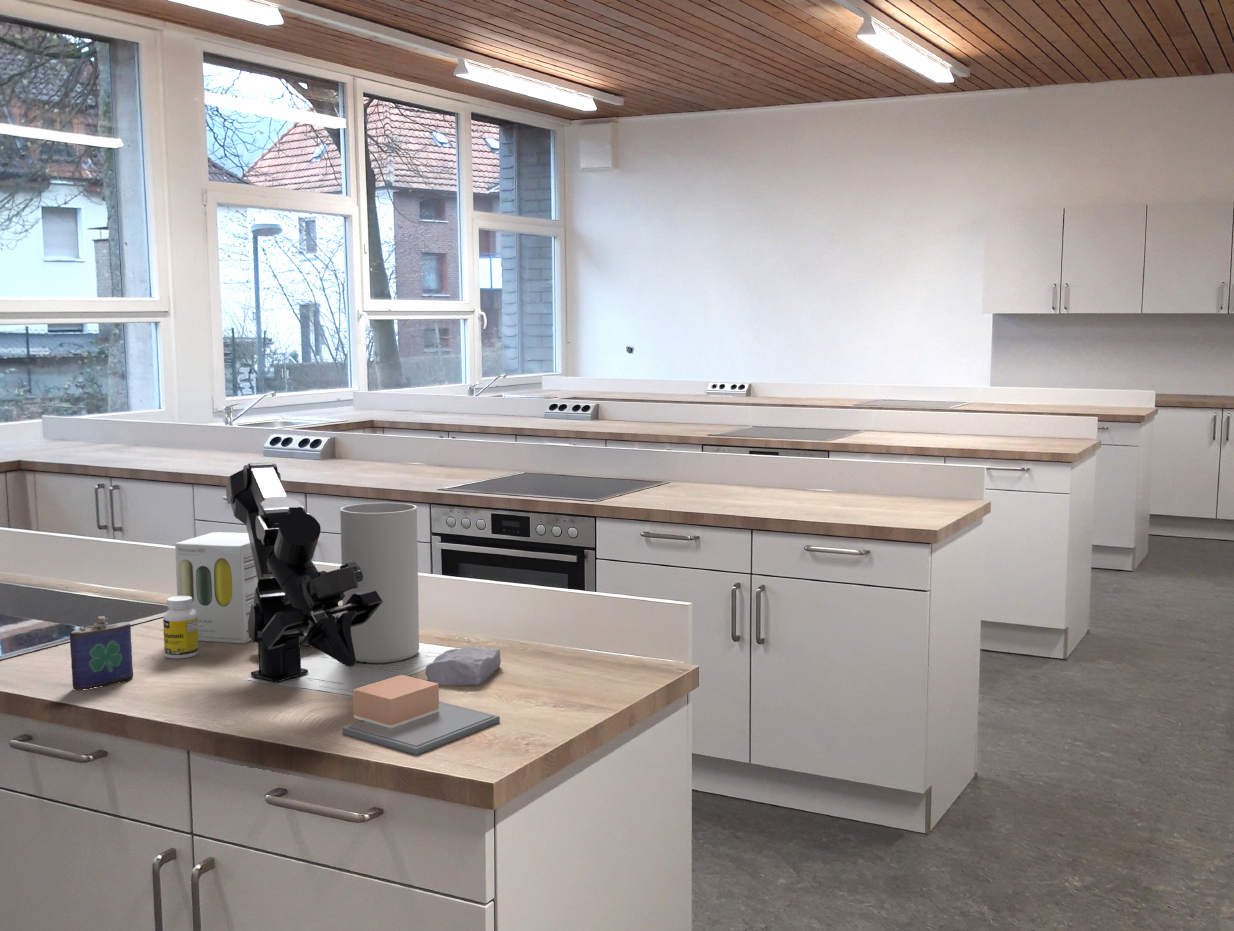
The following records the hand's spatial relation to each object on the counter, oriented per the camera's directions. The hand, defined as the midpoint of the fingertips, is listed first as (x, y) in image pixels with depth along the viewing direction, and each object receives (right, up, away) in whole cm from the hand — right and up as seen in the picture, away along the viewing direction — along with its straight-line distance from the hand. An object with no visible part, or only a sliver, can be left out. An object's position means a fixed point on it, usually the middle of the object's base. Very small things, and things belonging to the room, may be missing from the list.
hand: (352, 665), depth 168 cm
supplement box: (-32, -2, +44) cm, 54 cm away
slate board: (+11, -7, -8) cm, 16 cm away
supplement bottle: (-35, -3, +29) cm, 46 cm away
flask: (-41, -5, +13) cm, 43 cm away
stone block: (+13, -5, +18) cm, 23 cm away
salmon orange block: (+4, -4, -3) cm, 6 cm away
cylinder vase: (-2, -3, +30) cm, 30 cm away
